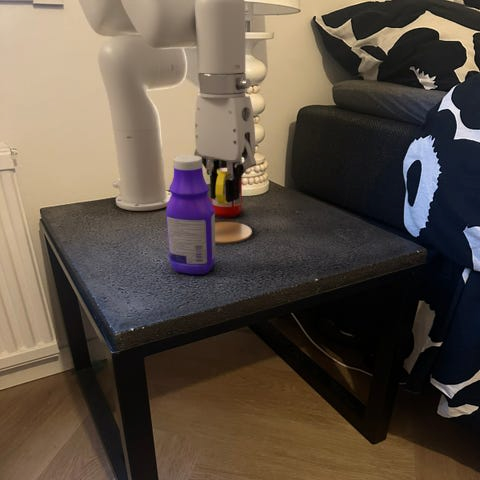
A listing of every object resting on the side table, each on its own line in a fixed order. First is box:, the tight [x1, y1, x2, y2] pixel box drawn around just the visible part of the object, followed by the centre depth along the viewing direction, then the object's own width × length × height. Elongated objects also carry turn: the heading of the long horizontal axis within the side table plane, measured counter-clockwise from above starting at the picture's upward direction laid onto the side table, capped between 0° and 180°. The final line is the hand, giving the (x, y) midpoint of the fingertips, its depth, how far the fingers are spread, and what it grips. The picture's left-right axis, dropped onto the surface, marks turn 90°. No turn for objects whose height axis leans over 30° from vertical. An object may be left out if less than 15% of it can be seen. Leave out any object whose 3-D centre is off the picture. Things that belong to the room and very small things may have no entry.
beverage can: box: [209, 160, 243, 219], centre depth 95 cm, size 6×6×12 cm
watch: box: [216, 168, 229, 205], centre depth 84 cm, size 6×3×6 cm, turn 162°
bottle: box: [165, 154, 216, 275], centre depth 72 cm, size 7×6×17 cm
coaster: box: [215, 221, 253, 245], centre depth 89 cm, size 10×10×1 cm
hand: (225, 197), depth 85 cm, fingers closed on watch, 2 cm apart
